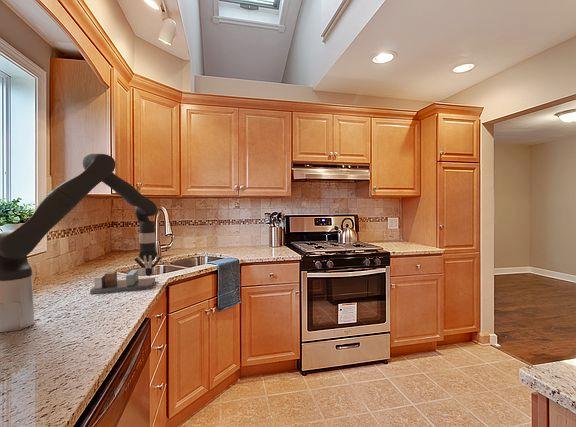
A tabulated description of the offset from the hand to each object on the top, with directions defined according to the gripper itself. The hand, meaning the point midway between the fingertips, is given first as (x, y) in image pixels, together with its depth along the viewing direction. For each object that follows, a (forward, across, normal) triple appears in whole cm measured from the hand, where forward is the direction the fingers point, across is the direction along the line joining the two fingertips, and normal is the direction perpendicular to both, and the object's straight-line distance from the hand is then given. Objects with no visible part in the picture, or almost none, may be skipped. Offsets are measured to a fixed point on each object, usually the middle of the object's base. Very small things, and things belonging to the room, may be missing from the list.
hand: (149, 275), depth 154 cm
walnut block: (+3, +17, 0) cm, 17 cm away
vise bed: (+5, +11, 0) cm, 12 cm away
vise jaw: (+3, +8, 0) cm, 8 cm away
